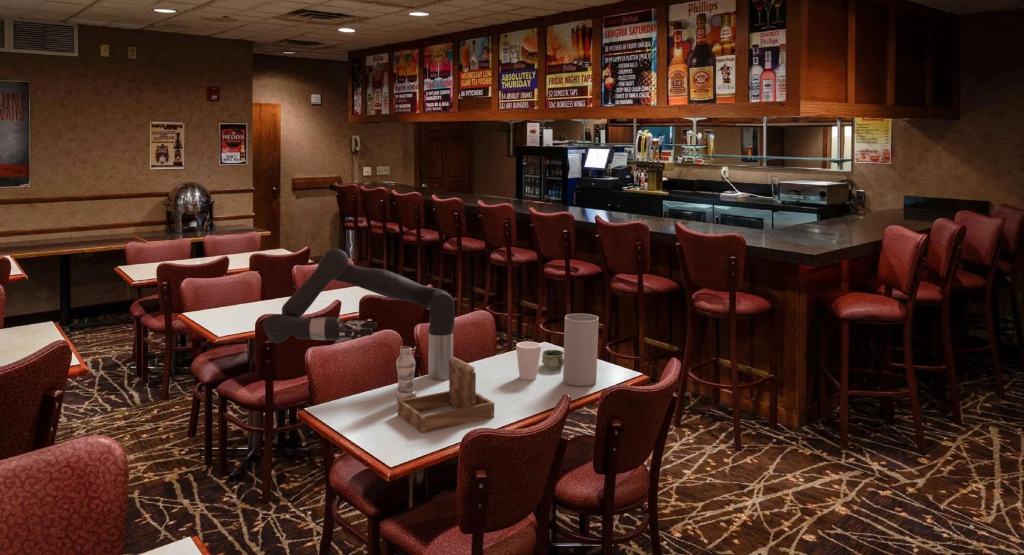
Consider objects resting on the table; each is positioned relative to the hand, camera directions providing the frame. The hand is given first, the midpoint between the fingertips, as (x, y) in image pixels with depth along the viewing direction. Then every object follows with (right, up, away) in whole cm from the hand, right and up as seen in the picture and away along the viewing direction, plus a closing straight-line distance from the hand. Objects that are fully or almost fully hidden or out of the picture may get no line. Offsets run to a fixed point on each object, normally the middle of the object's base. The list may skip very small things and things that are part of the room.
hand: (374, 328), depth 251 cm
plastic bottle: (+10, -26, +5) cm, 29 cm away
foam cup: (+52, -21, +36) cm, 67 cm away
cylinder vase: (+72, -22, +32) cm, 81 cm away
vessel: (+62, -19, +49) cm, 82 cm away
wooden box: (+25, -28, -6) cm, 38 cm away
